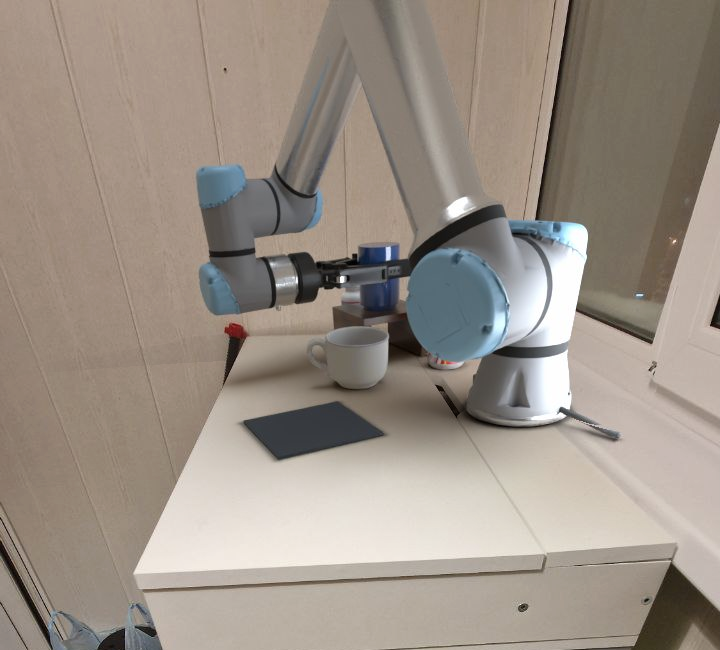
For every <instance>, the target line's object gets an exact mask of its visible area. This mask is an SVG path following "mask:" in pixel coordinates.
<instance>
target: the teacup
mask: <svg viewBox="0 0 720 650" xmlns="http://www.w3.org/2000/svg"><path fill="white" fill-rule="evenodd" d="M388 339H389V334H388V331H386V330H384V329H381V328H379V327H374V326H371V327H363V326H354V327H345V328H339V329H336V330H334V329H332V330H331V331H329V332H327V333H326V334H325V336H324V340H323V339H322V338H319V337H316V338H313V339H311V340H309V341H308V343H307V344H306V349H305V350H306V352H305V353H306V356H307V359H308V361H309V362H310V363H311V364H312V365H313V366H315V367H316V368H318V369H320V370H322V371H323V372H324V374H325V375H326V376H330V377H331V378H332V379H333V381H335V382H336V383H338V385H339V386H341V387H342V388H344V389H345V388H346V389H349V390H365V389H369V388H373V387H374V386H375V385H377V384H378V383H379V381H381V380H382V379H383V378H384V377H385V375H386V373H387V370H388V366H389V365H388V363H389V342H388ZM315 346H319V347H321V348H322V350H323V353H324V355H325V356H326V362H327V363H323V362H322V361H319V360H318V358H316V357H315V356H314V355H313V348H314V347H315Z"/></svg>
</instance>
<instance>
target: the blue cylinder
mask: <svg viewBox="0 0 720 650" xmlns="http://www.w3.org/2000/svg"><path fill="white" fill-rule="evenodd" d="M400 245H401V244H400V242H395V241H374V242H366V243H365V242H364V243H360V244H358V245H357V254H358V265H369V264H381V263H382V262H385V261H392V260H400V259H401V258H400V257H401V256H400V253H401V252H400V249H401V247H400ZM400 281H401V278H396V279H389V280H388V282H386V285H384V286H383V285H382V283H375V284H366V285H359V290H360V305H362V306H363V309H364V310H367V311H387V310H392V309H395V308H396V304H398V303H399V299H400V291H401V289H400V283H401V282H400Z"/></svg>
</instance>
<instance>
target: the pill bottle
mask: <svg viewBox="0 0 720 650" xmlns="http://www.w3.org/2000/svg"><path fill="white" fill-rule="evenodd" d="M343 289H344V291H343V292H342V294H341V296H340V303H341V305H348V304H355V303H360V290H359V285H358V286H349V287H344V288H343ZM341 305H340V306H341Z"/></svg>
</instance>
